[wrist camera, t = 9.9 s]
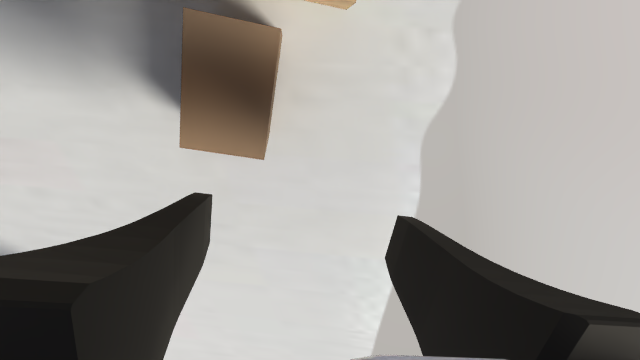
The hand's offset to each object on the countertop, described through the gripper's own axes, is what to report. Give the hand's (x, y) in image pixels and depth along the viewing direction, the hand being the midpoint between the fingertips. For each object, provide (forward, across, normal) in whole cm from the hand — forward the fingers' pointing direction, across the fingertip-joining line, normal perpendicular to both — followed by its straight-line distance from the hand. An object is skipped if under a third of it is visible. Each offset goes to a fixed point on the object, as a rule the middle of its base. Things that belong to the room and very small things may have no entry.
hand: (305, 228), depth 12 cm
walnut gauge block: (+10, +4, -4) cm, 11 cm away
